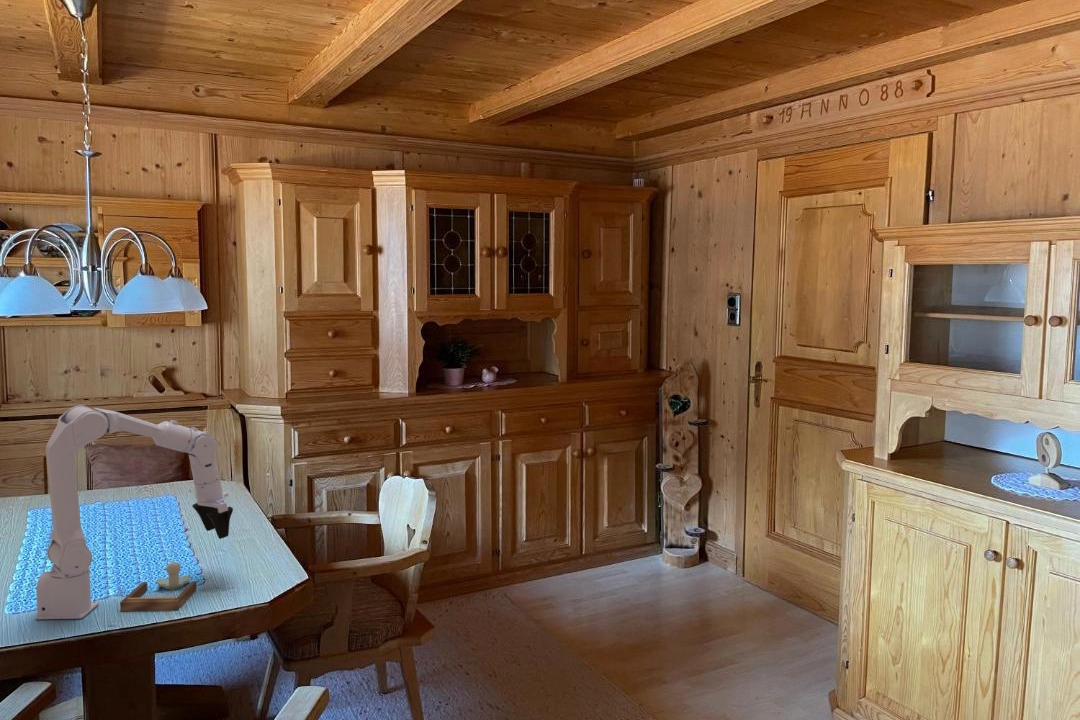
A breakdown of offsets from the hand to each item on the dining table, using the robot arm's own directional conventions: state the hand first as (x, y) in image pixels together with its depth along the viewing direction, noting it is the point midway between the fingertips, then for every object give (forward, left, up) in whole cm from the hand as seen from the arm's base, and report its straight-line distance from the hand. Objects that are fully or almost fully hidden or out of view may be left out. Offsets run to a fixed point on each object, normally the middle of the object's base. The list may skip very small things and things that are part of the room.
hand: (217, 533), depth 190 cm
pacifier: (-8, -6, -11) cm, 15 cm away
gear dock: (-8, -14, -11) cm, 20 cm away
